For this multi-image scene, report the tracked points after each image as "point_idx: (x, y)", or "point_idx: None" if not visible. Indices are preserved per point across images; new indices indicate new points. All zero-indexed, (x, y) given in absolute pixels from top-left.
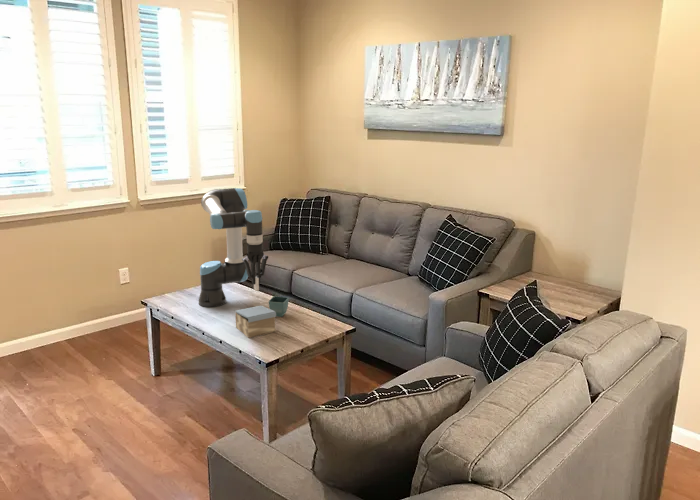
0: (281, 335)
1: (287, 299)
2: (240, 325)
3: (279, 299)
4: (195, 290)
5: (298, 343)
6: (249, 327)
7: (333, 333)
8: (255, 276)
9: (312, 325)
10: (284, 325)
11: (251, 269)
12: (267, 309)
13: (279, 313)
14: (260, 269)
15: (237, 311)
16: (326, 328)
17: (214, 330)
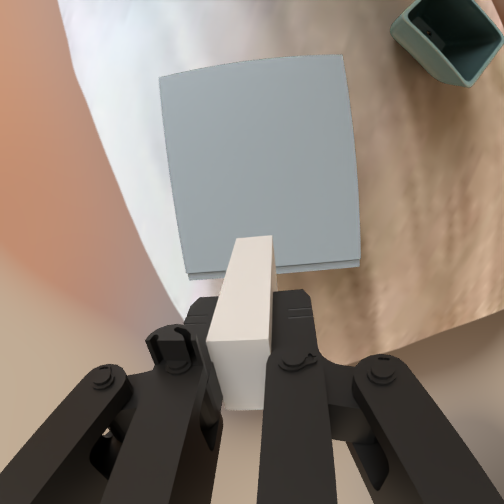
0: None
1: (495, 53)
2: None
3: (462, 2)
4: None
5: (357, 340)
6: None
7: (478, 312)
8: (219, 432)
9: (478, 223)
10: (399, 164)
11: (118, 501)
12: (342, 180)
13: (423, 66)
14: (392, 458)
15: (165, 106)
16: (490, 269)
17: (102, 92)
